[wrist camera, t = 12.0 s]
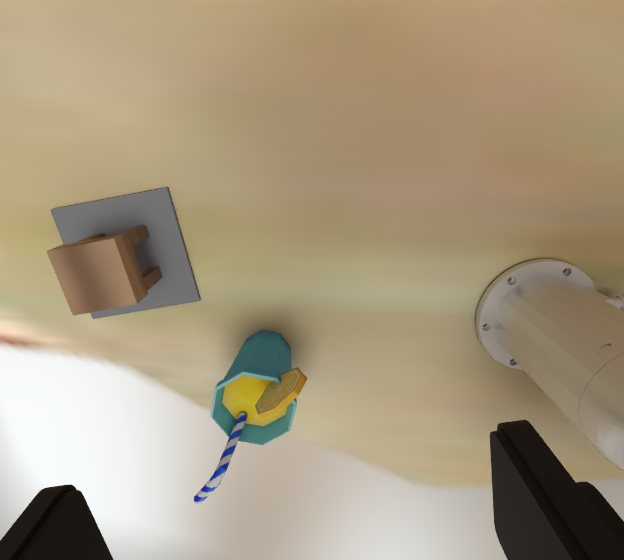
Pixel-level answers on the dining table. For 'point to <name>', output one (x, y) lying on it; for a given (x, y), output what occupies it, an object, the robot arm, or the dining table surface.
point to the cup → (255, 398)
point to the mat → (149, 253)
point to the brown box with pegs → (103, 271)
